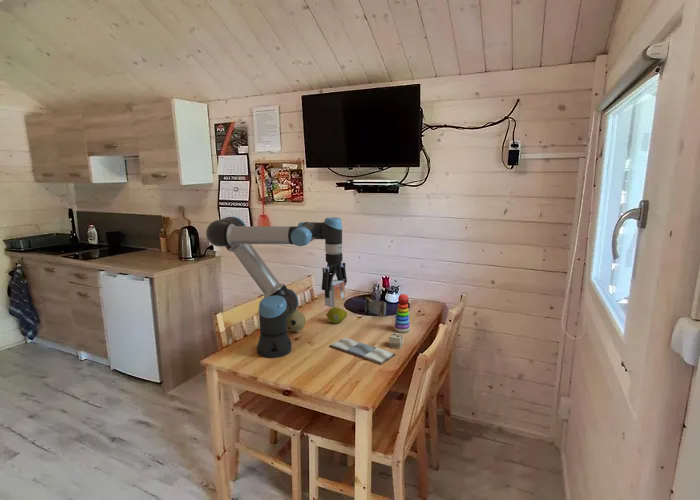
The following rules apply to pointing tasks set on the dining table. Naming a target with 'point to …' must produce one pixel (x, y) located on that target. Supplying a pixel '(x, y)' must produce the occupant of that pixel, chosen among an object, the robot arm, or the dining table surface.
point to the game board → (363, 350)
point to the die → (396, 340)
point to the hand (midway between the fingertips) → (334, 301)
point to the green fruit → (336, 315)
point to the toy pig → (296, 321)
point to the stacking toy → (402, 315)
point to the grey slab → (375, 307)
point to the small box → (337, 293)
